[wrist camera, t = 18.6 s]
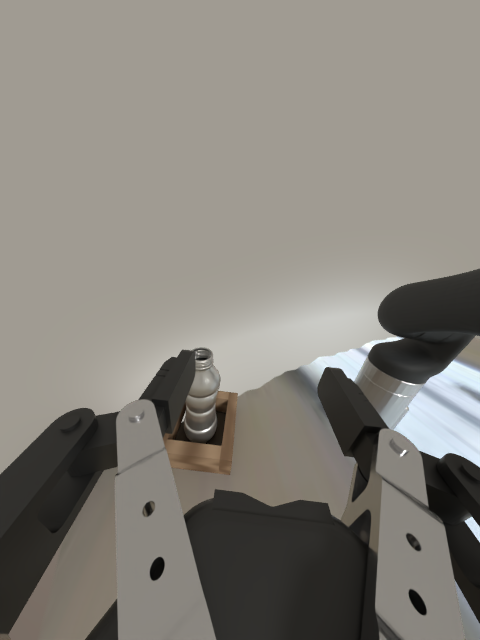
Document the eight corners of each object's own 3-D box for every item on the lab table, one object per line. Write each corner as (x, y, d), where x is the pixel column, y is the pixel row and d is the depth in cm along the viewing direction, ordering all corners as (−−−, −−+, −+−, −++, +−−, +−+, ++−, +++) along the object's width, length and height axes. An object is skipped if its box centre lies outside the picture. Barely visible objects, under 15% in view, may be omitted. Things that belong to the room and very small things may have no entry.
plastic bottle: (194, 412, 39) (192, 339, 31) (221, 422, 38) (228, 348, 29) (177, 440, 34) (169, 360, 25) (208, 454, 32) (211, 373, 24)
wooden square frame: (235, 406, 42) (237, 393, 40) (229, 474, 30) (231, 460, 28) (181, 399, 42) (180, 386, 40) (153, 465, 30) (149, 450, 28)
